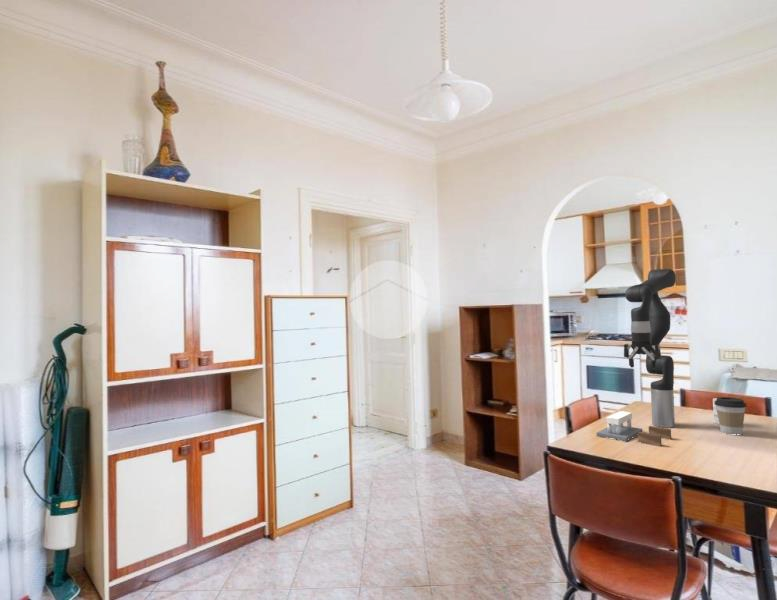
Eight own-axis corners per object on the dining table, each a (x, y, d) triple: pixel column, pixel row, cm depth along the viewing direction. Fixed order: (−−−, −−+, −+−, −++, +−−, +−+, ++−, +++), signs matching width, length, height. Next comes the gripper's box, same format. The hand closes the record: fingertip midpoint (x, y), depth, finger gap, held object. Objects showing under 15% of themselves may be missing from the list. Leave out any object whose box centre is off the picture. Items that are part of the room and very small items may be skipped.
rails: (650, 434, 192) (650, 425, 192) (671, 438, 186) (670, 429, 187) (638, 442, 182) (638, 432, 182) (660, 446, 176) (659, 436, 176)
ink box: (737, 427, 202) (736, 401, 202) (726, 427, 202) (725, 401, 202) (723, 422, 210) (722, 397, 211) (713, 422, 210) (711, 398, 211)
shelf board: (620, 416, 202) (620, 411, 202) (631, 418, 198) (631, 412, 198) (606, 423, 191) (606, 417, 191) (618, 425, 188) (618, 419, 188)
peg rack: (614, 427, 206) (614, 414, 206) (642, 432, 197) (641, 418, 197) (596, 436, 192) (596, 422, 193) (625, 441, 184) (625, 427, 184)
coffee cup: (736, 429, 197) (734, 396, 198) (754, 436, 186) (753, 401, 187) (709, 429, 199) (708, 396, 199) (726, 436, 187) (724, 401, 188)
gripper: (661, 331, 190) (663, 368, 190) (626, 330, 201) (628, 365, 201) (655, 332, 185) (657, 370, 185) (620, 331, 196) (622, 367, 196)
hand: (642, 367), depth 193 cm, fingers open, 8 cm apart
